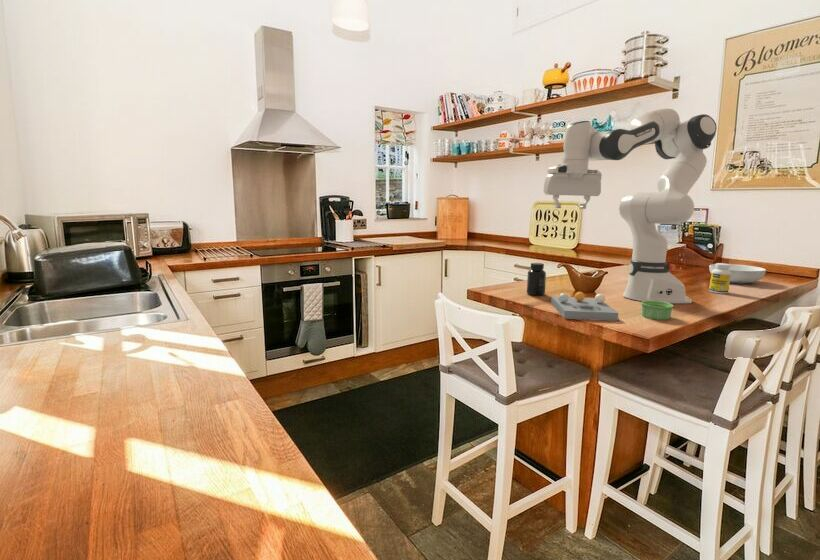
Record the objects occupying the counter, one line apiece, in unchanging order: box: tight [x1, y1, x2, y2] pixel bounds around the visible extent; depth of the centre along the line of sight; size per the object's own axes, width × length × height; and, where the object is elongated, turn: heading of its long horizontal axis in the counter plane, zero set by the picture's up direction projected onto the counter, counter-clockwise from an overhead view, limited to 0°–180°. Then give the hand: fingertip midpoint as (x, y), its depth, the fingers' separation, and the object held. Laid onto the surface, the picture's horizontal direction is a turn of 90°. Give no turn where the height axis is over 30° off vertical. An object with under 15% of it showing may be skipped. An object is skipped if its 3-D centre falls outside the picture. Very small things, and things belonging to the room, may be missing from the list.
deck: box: [550, 296, 619, 322], centre depth 147 cm, size 20×16×2 cm
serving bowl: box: [708, 263, 767, 285], centre depth 202 cm, size 21×21×7 cm
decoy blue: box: [557, 292, 570, 303], centre depth 148 cm, size 3×3×3 cm
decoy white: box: [594, 293, 606, 303], centre depth 148 cm, size 3×3×3 cm
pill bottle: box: [708, 262, 731, 295], centre depth 179 cm, size 6×6×12 cm
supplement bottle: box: [526, 262, 547, 297], centre depth 170 cm, size 7×7×12 cm
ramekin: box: [640, 301, 674, 321], centre depth 141 cm, size 9×9×4 cm
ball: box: [574, 291, 586, 301], centre depth 150 cm, size 3×3×3 cm
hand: (570, 208), depth 160 cm, fingers open, 8 cm apart
